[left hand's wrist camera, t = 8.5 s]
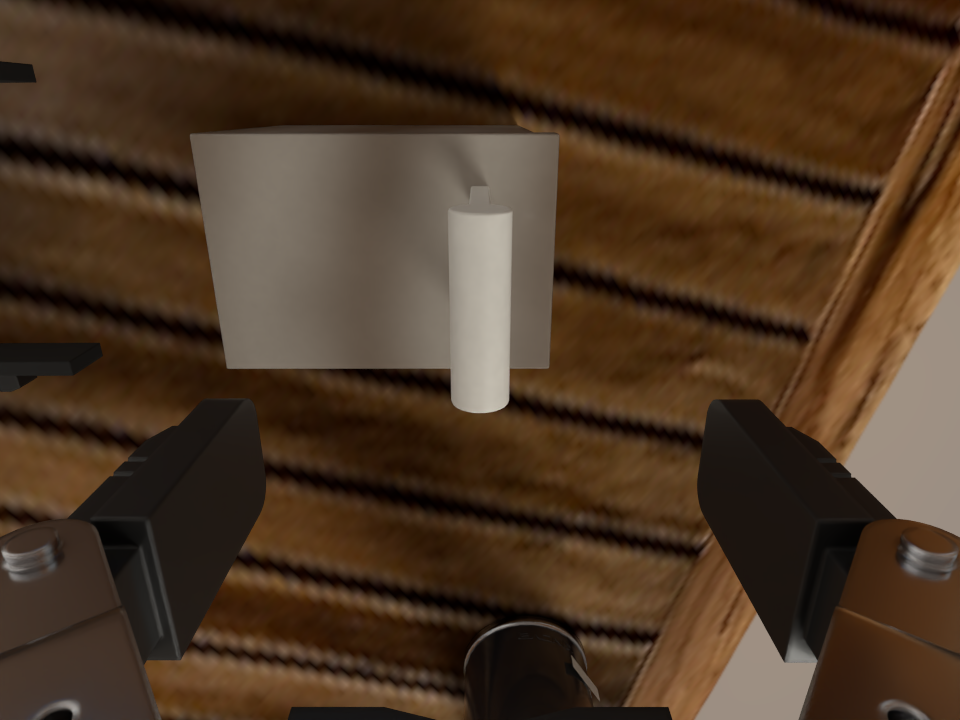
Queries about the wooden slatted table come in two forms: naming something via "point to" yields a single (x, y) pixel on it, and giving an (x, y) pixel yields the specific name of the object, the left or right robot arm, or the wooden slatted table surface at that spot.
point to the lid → (383, 252)
